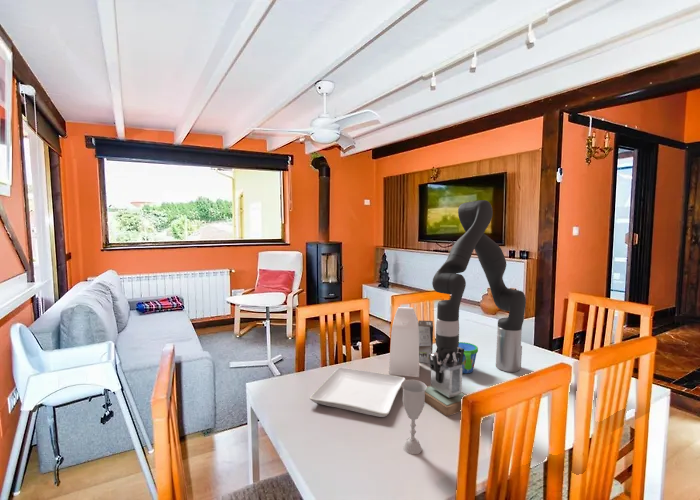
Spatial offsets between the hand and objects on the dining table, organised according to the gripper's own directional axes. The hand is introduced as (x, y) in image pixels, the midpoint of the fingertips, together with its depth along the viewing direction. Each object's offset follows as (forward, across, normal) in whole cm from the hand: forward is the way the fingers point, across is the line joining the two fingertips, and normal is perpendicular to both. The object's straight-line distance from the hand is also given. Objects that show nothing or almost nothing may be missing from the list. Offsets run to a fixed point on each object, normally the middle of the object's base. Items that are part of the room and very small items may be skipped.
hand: (445, 380), depth 129 cm
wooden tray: (+8, 0, 0) cm, 8 cm away
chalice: (+8, +26, +15) cm, 31 cm away
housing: (+4, 0, 0) cm, 4 cm away
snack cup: (+8, -25, -16) cm, 31 cm away
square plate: (+8, +23, -18) cm, 30 cm away
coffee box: (+8, -19, -33) cm, 39 cm away
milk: (+8, -4, -28) cm, 29 cm away
